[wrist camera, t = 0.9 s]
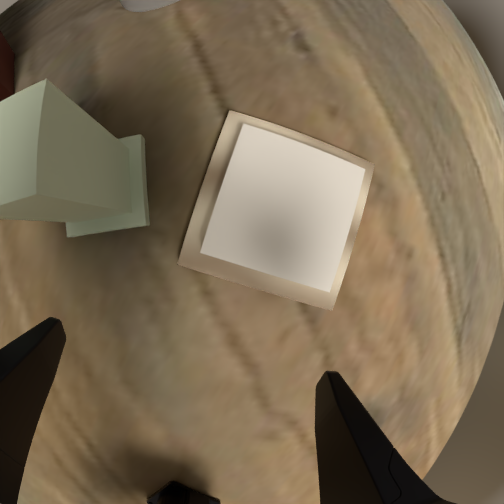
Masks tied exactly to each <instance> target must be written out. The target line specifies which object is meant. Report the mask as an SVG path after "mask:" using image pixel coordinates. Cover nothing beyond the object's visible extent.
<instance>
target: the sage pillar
mask: <svg viewBox="0 0 504 504" xmlns="http://www.w3.org/2000/svg"><path fill="white" fill-rule="evenodd" d="M0 219H12V220H32V221H52V222H66V232H67V237H77V236H83V235H89V234H96V233H102V232H108V231H115V230H121V229H128V228H135V227H142V226H149V225H150V218H149V207H148V194H147V180H146V160H145V138H144V137H143V136H142V135H141V134H139V135H134V136H129V137H124V138H120V139H117V138H116V137H114V136H113V135H112V134H111V133H110V132H109V131H107V130H106V129H105V128H104V127H103V126H101V125H100V124H99V123H98V122H97V121H96V120H94V119H93V118H92V117H91V116H90V115H89V114H87V113H86V112H85V111H84V110H83V109H81V108H80V107H79V106H78V105H77V104H76V103H74V102H73V101H72V100H71V99H70V98H68V97H67V96H66V95H65V94H64V93H63V92H61V91H60V90H59V89H58V88H57V87H56V86H54V85H53V84H52V83H51V82H50V81H48V80H47V79H45V80H43V81H41V82H38V83H36V84H34V85H32V86H30V87H28V88H26V89H24V90H22V91H20V92H18V93H16V94H14V95H12V96H10V97H8V98H6V99H4V100H2V101H1V102H0Z"/></svg>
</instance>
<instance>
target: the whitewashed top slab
mask: <svg viewBox="0 0 504 504" xmlns="http://www.w3.org/2000/svg"><path fill="white" fill-rule="evenodd" d="M364 173H365V169H364V168H361V167H359V166H357V165H355V164H352V163H350V162H348V161H345V160H343V159H341V158H338V157H336V156H333V155H331V154H329V153H326V152H324V151H321V150H319V149H316V148H313V147H311V146H308V145H306V144H303V143H300V142H297V141H295V140H292V139H289V138H286V137H284V136H281V135H278V134H275V133H272V132H269V131H266V130H263V129H260V128H257V127H253V126H250V125H247V124H243V126H242V129H241V132H240V134H239V137H238V140H237V143H236V146H235V148H234V151H233V154H232V157H231V160H230V162H229V165H228V168H227V171H226V174H225V177H224V180H223V183H222V186H221V189H220V192H219V195H218V198H217V201H216V204H215V207H214V210H213V213H212V216H211V219H210V222H209V225H208V228H207V232H206V235H205V238H204V241H203V244H202V248H201V251H200V253H202V254H205V255H209V256H212V257H215V258H218V259H221V260H225V261H228V262H231V263H234V264H237V265H241V266H244V267H247V268H250V269H253V270H257V271H260V272H263V273H266V274H270V275H273V276H276V277H280V278H283V279H286V280H289V281H293V282H296V283H299V284H303V285H306V286H309V287H313V288H316V289H319V290H323V291H326V292H329V293H330V290H331V287H332V284H333V281H334V278H335V275H336V272H337V269H338V266H339V263H340V259H341V256H342V253H343V250H344V246H345V243H346V240H347V236H348V233H349V230H350V226H351V223H352V219H353V215H354V212H355V208H356V204H357V201H358V197H359V193H360V189H361V185H362V181H363V177H364Z"/></svg>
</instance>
